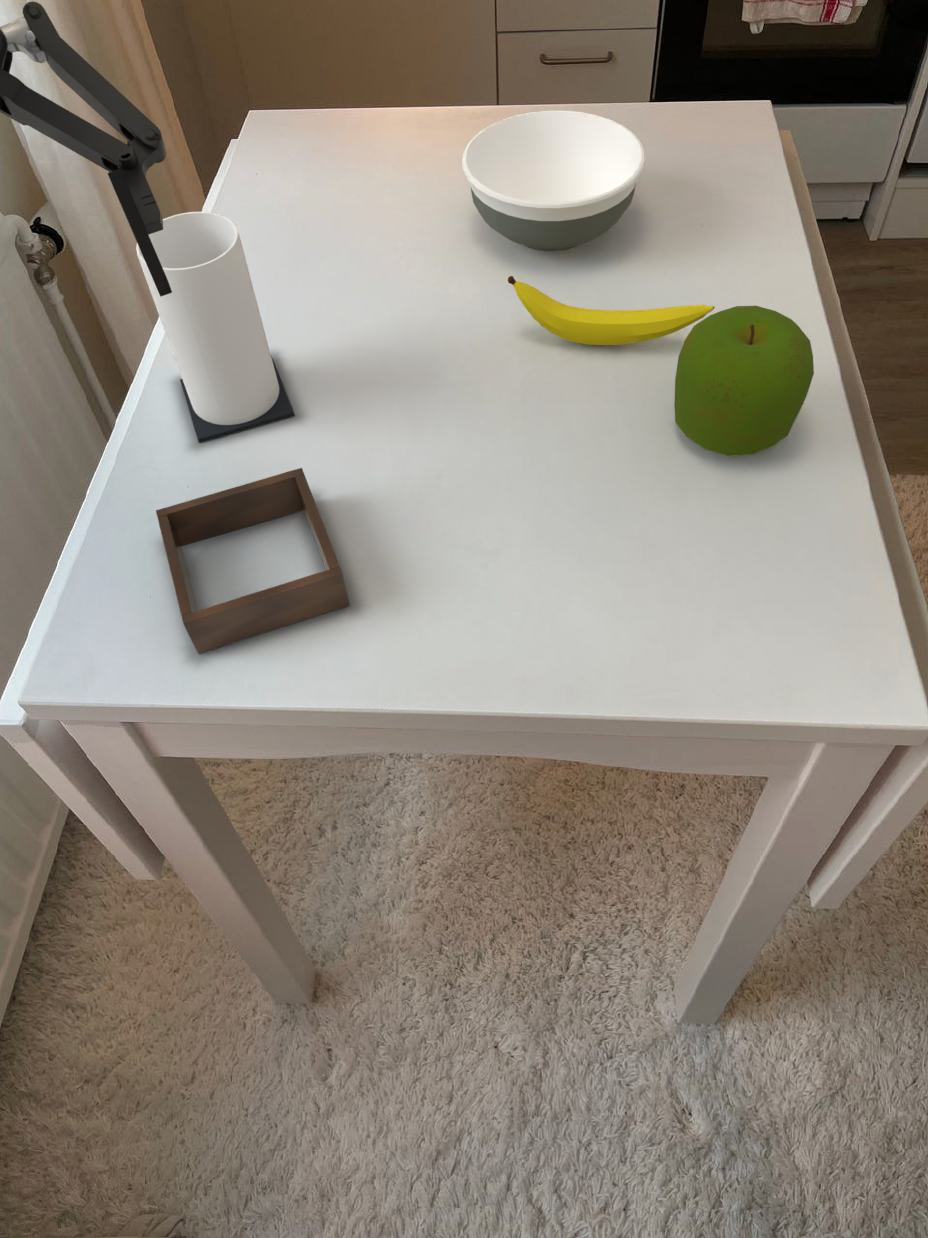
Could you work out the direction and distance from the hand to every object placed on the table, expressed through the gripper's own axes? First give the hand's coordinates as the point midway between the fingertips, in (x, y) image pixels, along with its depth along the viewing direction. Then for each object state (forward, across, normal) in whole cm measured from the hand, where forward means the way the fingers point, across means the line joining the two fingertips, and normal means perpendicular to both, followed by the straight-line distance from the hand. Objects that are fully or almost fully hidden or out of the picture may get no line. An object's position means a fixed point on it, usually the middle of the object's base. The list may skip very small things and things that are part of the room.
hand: (51, 328), depth 55 cm
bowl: (-5, -48, -43) cm, 64 cm away
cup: (+1, -9, -33) cm, 35 cm away
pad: (+1, -9, -34) cm, 35 cm away
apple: (+21, -48, -20) cm, 56 cm away
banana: (+9, -44, -29) cm, 54 cm away
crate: (+17, -5, -20) cm, 27 cm away
